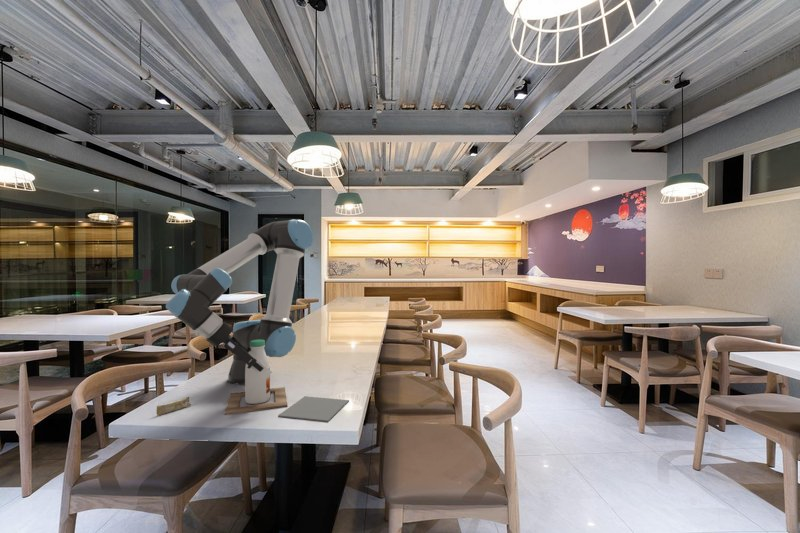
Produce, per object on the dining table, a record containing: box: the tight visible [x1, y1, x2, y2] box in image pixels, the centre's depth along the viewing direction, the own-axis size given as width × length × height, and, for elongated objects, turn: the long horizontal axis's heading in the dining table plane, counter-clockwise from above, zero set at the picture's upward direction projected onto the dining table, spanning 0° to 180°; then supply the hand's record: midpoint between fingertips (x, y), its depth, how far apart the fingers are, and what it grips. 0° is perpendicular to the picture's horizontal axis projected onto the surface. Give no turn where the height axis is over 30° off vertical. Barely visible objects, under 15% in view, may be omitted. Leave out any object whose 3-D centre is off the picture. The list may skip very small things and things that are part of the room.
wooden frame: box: [224, 386, 288, 416], centre depth 118 cm, size 18×18×1 cm
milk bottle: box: [244, 339, 271, 405], centre depth 118 cm, size 8×8×20 cm
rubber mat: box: [277, 395, 350, 423], centre depth 111 cm, size 16×16×1 cm
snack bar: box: [156, 396, 192, 417], centre depth 110 cm, size 10×2×3 cm, turn 144°
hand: (264, 370), depth 119 cm, fingers open, 13 cm apart
